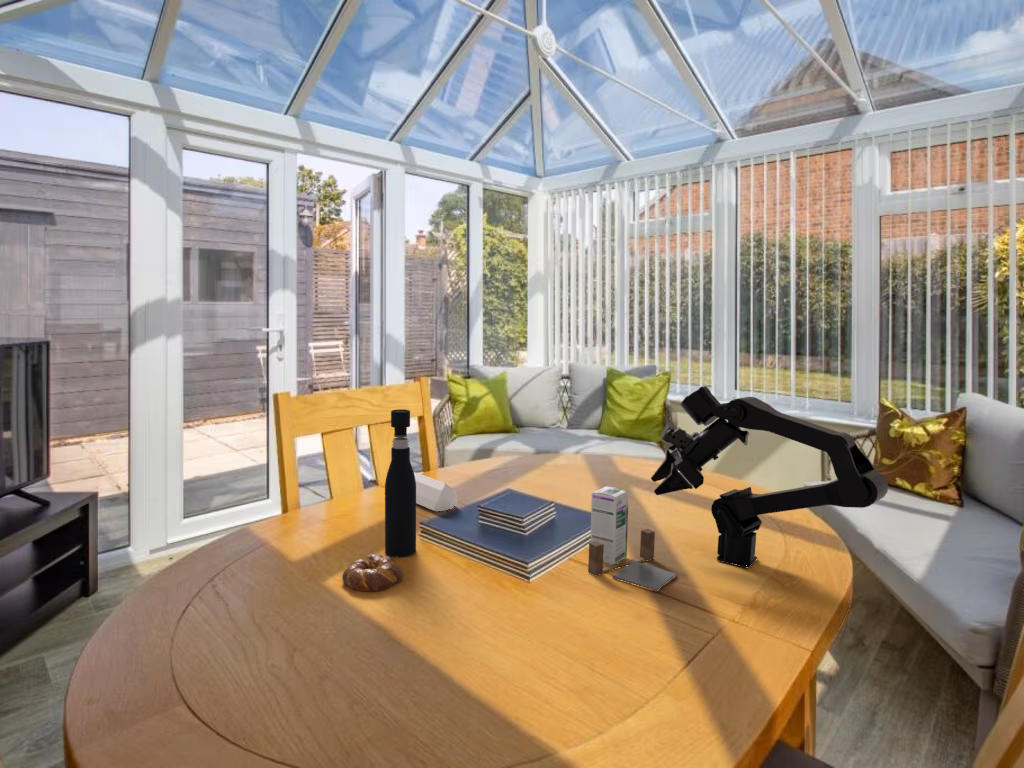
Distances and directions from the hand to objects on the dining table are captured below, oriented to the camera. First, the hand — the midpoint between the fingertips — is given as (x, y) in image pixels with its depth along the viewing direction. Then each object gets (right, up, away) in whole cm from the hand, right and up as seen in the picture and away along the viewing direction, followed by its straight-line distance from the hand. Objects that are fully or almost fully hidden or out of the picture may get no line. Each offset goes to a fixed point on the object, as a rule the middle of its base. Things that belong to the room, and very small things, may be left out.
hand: (653, 486), depth 128 cm
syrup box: (-11, -14, -5) cm, 19 cm away
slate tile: (-5, -15, -14) cm, 21 cm away
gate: (-9, -15, -9) cm, 19 cm away
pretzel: (-57, -15, -17) cm, 61 cm away
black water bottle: (-54, -13, -4) cm, 56 cm away
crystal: (-55, -10, +31) cm, 64 cm away
